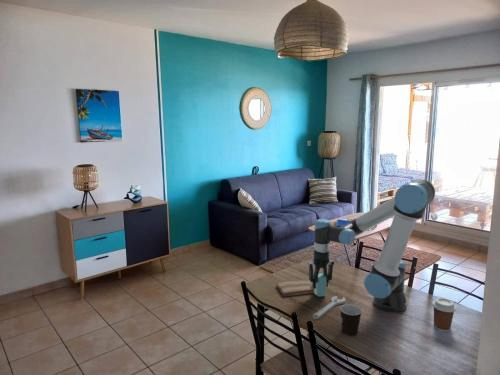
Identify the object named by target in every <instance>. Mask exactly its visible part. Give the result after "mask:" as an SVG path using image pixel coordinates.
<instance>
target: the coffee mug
mask: <svg viewBox="0 0 500 375" xmlns="http://www.w3.org/2000/svg"><path fill="white" fill-rule="evenodd" d="M339 308H340V310H339V311H340V320H341V332H342V333H343V334H344V335H347V336H351V337H352V336H357V334H358V333H359V332H358V331H359V328H360V321H361V316H362V312H363V310H362V309H361V307H359V306H358V305H355V304H342V305H341V306H340V307H339Z"/></svg>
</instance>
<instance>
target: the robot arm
mask: <svg viewBox="0 0 500 375" xmlns="http://www.w3.org/2000/svg"><path fill="white" fill-rule="evenodd" d="M435 195H436V190H435V186H434V185H433V183H431V182H430V181H428V180H426V179H423V178H416V179H414V180H411V181H410V182H405V183H404V184H402V185H401V186H400V187H399V188H398V189H397V190H396V192H395V193H394V197H391V198H390V199H388V200H386V201H385V202H383V203H381V204H379V205H377V206H376V207H374V208H372V209H371V210H368V211H367V212H365V213H364V214H361V215H360V216H357V218H355V219H352V220H351V221H349V222H347V223H345V224H343V225H341V226H336V225H331V220H330V219H327V218H318V219H316V220H315V222H314V229H313V230H314V239H313V240H314V241H313V242H314V243H313V260H312V261H311V262H310V261H309V262H307V265H308V280H309V281H310V282H311V283H312V284H313V288H314V293H313V294H315V296H317V293H318V283H317V278H318V274H320V270H321V269H322V272H323V274H324V275H325V276H326V288H328V286H329V283H330V281H331V280H333V269H334V266H335V265H334V264H335V262H334V260H332V259H330V243H331V242H333V243H338V244H341V245H347V246H351V245H353V244H354V242H355V238H356V237H358V236H360V235H361V234H363V233H364V232H366V231H369V230H370V229H372V228H374V227H376V226H378V225H380V224H382V223H384V222H385V221H388V220H389V219H391V218H393V219H392V222H391V225H390V227H389V230H388V233H387V235H386V238H385V241H384V244H383V247H382V249H381V252H380V255H379V257H378V259H377V260H374V261H373V263H372V265H371V268H370V271H369V273H368V274H367V275H365V278H364V280H363V284H364V288H365V289H366V292H367V293H368V294H369V295H371V296H372V297H373V300H372V303H373V305H374V306H375V307H376V308H379V309H381V310H383V311H386V312H390V313H400V312H403V311H405V310H406V309H407V304H408V302H407V298H406V294H405V292H404V289H405V277H406V269H407V268H406V262H405V260H402V259H403V257H404V253H405V252H406V251H405V250H406V248H407V246H408V244H409V241H410V238H411V235H412V233H413V231H414V227H415V225H416V223H417V221H419V220H421V219H423V217H424V213H425V211H426V209H427V206H428V205H429V204H430V203H432V202H433V200H434V199H435ZM327 266H328V267H327Z"/></svg>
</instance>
